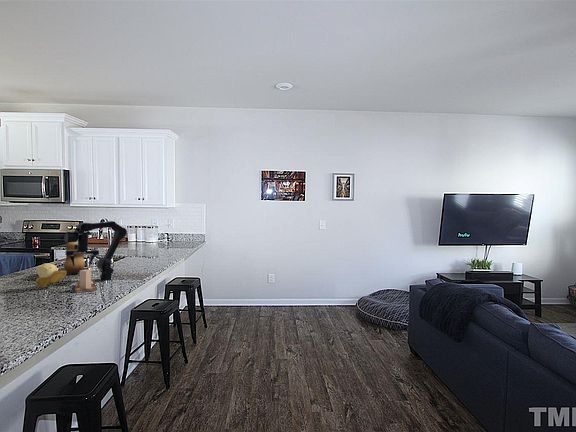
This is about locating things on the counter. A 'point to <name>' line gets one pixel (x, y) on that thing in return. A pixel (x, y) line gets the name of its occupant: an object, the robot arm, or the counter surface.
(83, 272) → the clay bar
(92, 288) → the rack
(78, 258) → the butternut squash
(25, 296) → the counter surface
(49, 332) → the counter surface
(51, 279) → the decorative fish
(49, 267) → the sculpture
